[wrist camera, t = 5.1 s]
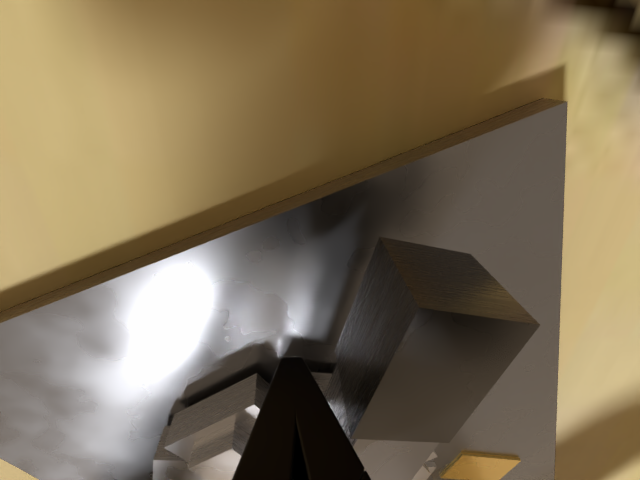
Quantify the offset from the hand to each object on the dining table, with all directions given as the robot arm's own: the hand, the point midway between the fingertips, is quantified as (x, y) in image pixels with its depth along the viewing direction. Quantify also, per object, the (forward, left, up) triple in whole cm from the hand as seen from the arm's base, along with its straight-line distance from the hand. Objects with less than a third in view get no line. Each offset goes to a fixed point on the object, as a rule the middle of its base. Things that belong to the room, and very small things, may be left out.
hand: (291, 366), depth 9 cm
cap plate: (-3, -10, -4) cm, 11 cm away
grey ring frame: (-1, -7, -3) cm, 7 cm away
